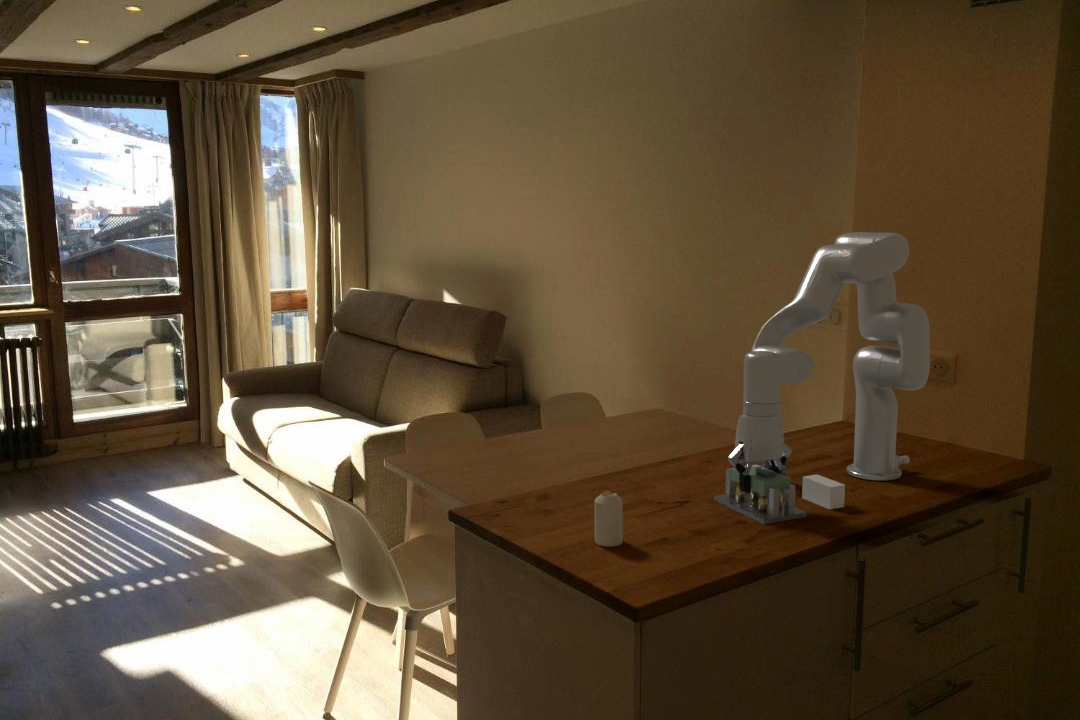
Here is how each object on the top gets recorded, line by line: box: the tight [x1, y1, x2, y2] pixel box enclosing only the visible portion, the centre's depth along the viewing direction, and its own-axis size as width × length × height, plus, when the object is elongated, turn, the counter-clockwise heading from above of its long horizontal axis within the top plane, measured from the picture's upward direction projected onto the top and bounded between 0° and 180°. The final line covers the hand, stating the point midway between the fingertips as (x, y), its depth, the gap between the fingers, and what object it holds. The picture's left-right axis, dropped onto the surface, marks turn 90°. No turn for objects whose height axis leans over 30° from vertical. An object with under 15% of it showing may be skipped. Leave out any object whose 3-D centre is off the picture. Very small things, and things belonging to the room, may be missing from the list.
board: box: [729, 464, 792, 495], centre depth 195 cm, size 7×12×3 cm, turn 23°
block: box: [801, 473, 846, 510], centre depth 199 cm, size 4×9×5 cm, turn 23°
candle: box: [593, 490, 624, 548], centre depth 177 cm, size 6×6×10 cm
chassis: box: [713, 468, 807, 525], centre depth 196 cm, size 11×18×7 cm, turn 23°
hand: (759, 488), depth 196 cm, fingers closed on board, 6 cm apart
